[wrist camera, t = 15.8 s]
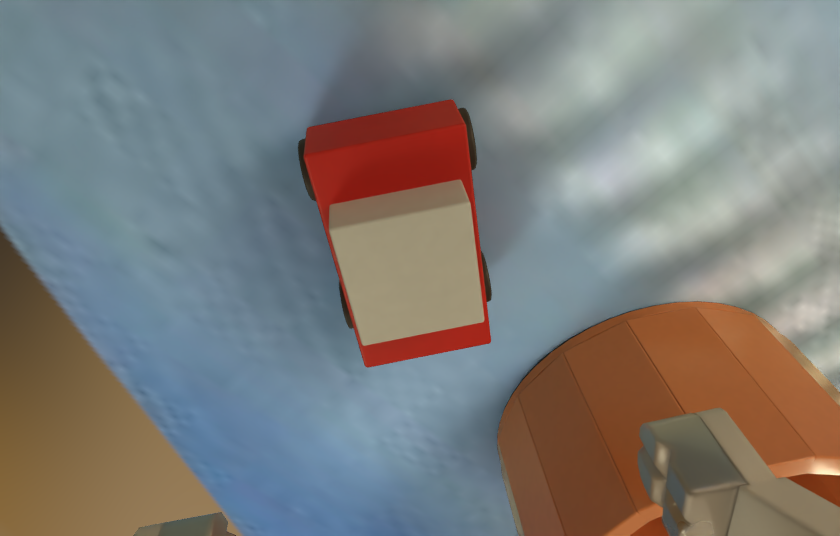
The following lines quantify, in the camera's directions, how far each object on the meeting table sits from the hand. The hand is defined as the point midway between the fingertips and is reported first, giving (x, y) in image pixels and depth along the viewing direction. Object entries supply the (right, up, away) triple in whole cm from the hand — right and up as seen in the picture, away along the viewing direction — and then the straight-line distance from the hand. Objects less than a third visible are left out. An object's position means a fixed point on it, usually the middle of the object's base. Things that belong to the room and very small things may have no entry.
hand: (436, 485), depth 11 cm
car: (-1, +6, +8) cm, 10 cm away
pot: (+10, -3, +15) cm, 19 cm away
